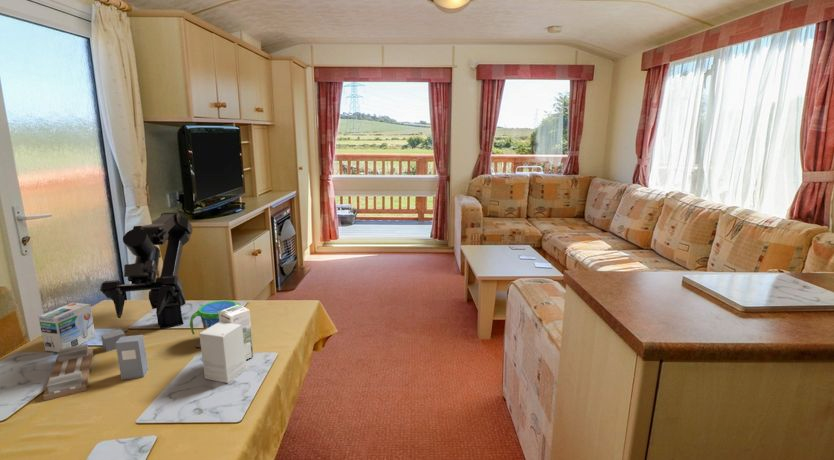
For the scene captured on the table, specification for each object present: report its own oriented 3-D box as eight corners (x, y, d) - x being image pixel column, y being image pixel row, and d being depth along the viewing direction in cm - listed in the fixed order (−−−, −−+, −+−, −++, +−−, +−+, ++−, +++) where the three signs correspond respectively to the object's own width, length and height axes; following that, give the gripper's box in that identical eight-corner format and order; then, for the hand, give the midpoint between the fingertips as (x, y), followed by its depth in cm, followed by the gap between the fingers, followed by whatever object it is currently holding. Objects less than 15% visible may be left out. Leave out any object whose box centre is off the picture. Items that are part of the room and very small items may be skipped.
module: (127, 372, 115) (121, 336, 113) (148, 369, 116) (142, 334, 114) (121, 379, 112) (115, 343, 109) (143, 377, 113) (138, 340, 110)
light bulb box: (63, 353, 125) (56, 318, 122) (43, 351, 126) (36, 316, 124) (97, 336, 135) (91, 303, 133) (78, 334, 136) (72, 301, 134)
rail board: (57, 359, 121) (55, 349, 120) (93, 352, 125) (91, 341, 125) (44, 400, 103) (41, 388, 102) (86, 390, 107) (84, 378, 106)
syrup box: (241, 351, 125) (236, 303, 122) (254, 357, 122) (249, 308, 119) (222, 360, 121) (217, 310, 117) (235, 366, 117) (230, 315, 114)
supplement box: (247, 369, 116) (243, 324, 113) (227, 384, 109) (222, 337, 107) (225, 364, 119) (220, 320, 116) (203, 379, 112) (197, 332, 109)
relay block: (123, 341, 132) (121, 329, 131) (127, 345, 129) (124, 333, 128) (103, 347, 128) (100, 334, 127) (106, 352, 126) (104, 339, 125)
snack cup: (246, 326, 141) (244, 296, 139) (250, 340, 132) (247, 308, 130) (192, 336, 135) (188, 305, 132) (192, 351, 125) (188, 318, 123)
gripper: (97, 252, 117) (84, 307, 109) (174, 248, 122) (167, 300, 113) (113, 272, 126) (103, 324, 118) (185, 267, 131) (179, 316, 123)
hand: (138, 316), depth 118 cm, fingers open, 9 cm apart
